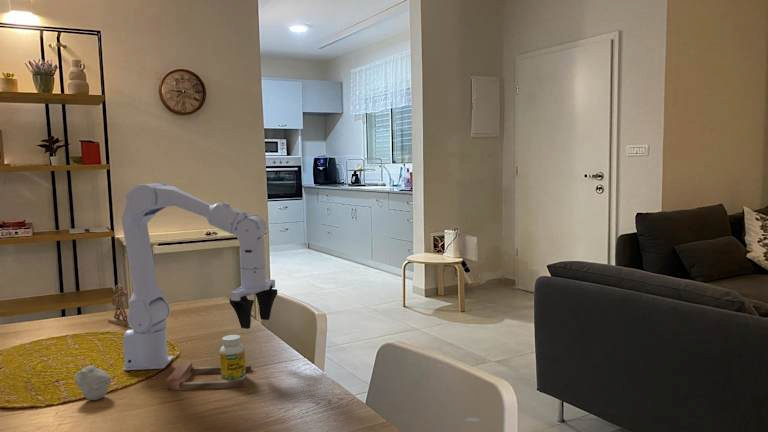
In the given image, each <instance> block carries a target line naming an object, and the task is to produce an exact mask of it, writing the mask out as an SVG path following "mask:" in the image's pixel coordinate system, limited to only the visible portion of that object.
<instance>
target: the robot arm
mask: <svg viewBox="0 0 768 432" xmlns="http://www.w3.org/2000/svg"><path fill="white" fill-rule="evenodd" d="M125 200H126V201H125V205H124V209H123V213H122V216H121V225H122V231H123V237H124V242H125V249H126V254H127V261H128V266H129V273H130V279H131V285H132V290H133V292H132V294H131V297H130V299H129V300H128V308H129V309H128V313H127V320H128V324H129V325H128V326H129V327H130V329H127V330H126V331H125V333H124V335H123V338H122V339H123V341H122V350H123V362H124V367H123V371H138V370H141V371H142V370H159V369H160V370H162V369H165V368H166V367H167V366H168V364H170V362H171V361H172V360H173V359H174V355H168V354H169V353H168V352H169V351H168V339H167V324H166V323H167V322H166V320H167V319H168V317H169V316H170V312H171V308H170V305H169V302H167V299H166V298H165V295H164V291H163V290H162V289H161V288H160V287H159V286H158V281H157V277H156V276H157V275H156V270H155V263H154V257H153V250H152V245H151V240H150V239H151V238H150V232H149V226H148V223H149V222H150V221H151V220H152V219H153V217H154V216H155V215H156V214H157V213H159V212H161V211H162V210H163V209H166V208H167V207H177V208H180V209H183V210H184V211H188V212H191V213H194V214H196V215H199V216H201V217H204V218H206V221H207V222H208V224H209V225H210V226H211V227H215V228H217V229H219V230H221V231H223V232H226V233H228V234H230V235H233V236H235V237H236V238H237V239H238V241H239V242H238V243H239V264H240V284H241V285H240V286H239V287H238V288H236V289H235V290H233V291H230V298H229V304H230V305H231V307H232V308H233V310H234V311H235V314H236V316H237V317H236V318H238V319H237V320H238V321H239V325H240V328H241V329H246V330H249V329H250V328H251V324H252V322H251V321H252V320H251V319H252V309H253V306H254V303H255V300H254V299H249V298H248V297H250V296H253V295H255V297H256V300H257V306H258V311H259V317H260V320H263V321H269V320H270V318H271V312H272V309H273V304H274V301H275V299H276V297H277V295H278V289H275V288H276V279H267V278H266V277H267V275H266V253H265V252H266V251H265V237H264V235H266V232H267V224H266V221H265V220H264V219H263V218H262V217H261V216H259V215H258V214H250V215H249V212H248V211H246V210H243V211H241V210H238V209H236V208H234V207H232V206H231V204H230V203H229V202H226V201H225V202H223V203H222V202H217V203H214V204H211V203H209V202H206V201H205V200H203V199H200V198H198V197H197V196H194V195H193V194H190V193H188V192H186V191H183V190H182V189H180V188H178V187H175V186H172V185H167V183H164V182H155V183H141V184H140V183H139V184H137V185H135V186H133V187H132V188H131V189H129V191H128V193H126V194H125Z"/></svg>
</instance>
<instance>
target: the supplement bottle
mask: <svg viewBox="0 0 768 432" xmlns="http://www.w3.org/2000/svg"><path fill="white" fill-rule="evenodd" d="M241 342H242V340H241V335H239V334H230V335H229V334H228V335H225V336H223V337H222V338H221V344H222V346H221V347H220V349H219V360H220V361H219V363H220V366H221V373H220V374H221V381H222V380H245V379H246V376H247V372H246V368H245V365H246V356H245V355H246V353H245V347H244V345H243V344H242V343H241Z"/></svg>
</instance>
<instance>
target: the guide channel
mask: <svg viewBox="0 0 768 432" xmlns="http://www.w3.org/2000/svg"><path fill="white" fill-rule="evenodd" d="M245 368H246V373H247V372H251V371H252V364H245ZM204 374H205V375H206V374H221V365H216V366H213V365H212V366H211V365H209V366H193V361H181V362H180V363H179V365H177V366H176V368H175V369H174V370H173V371H172V372H171V374H170V375H169V376H168V377H167V379H166V386H167V391H185V390H186V391H187V390H206V389H209V390H210V389H226V388H228V389H229V388H230V387H231V388H243V387H244V386H245V385H244V384H245V379H243V380H222V379H221V380H206V381H202V380H201V381H187V380H188V379H189V378H190V377H191V375H204Z"/></svg>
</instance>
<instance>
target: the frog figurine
mask: <svg viewBox="0 0 768 432" xmlns="http://www.w3.org/2000/svg"><path fill="white" fill-rule="evenodd" d="M74 379H75V383H76V386H77V387H78V388H79V390H80V391H81V393H82V395H83V396H84V398H86V399H87V400H91V401H97V400H100V399H102V398H104V397H105V396H106V395H107V393H108V391H109V387H110V385H111V383H112V378H111V375H110V374H108V373H107V372H106V371H105V370H103V369H100V368H97V366H94V365H87V366H85V367H83V368H82V369H81V370H80V371H77V373H75V375H74Z"/></svg>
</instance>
